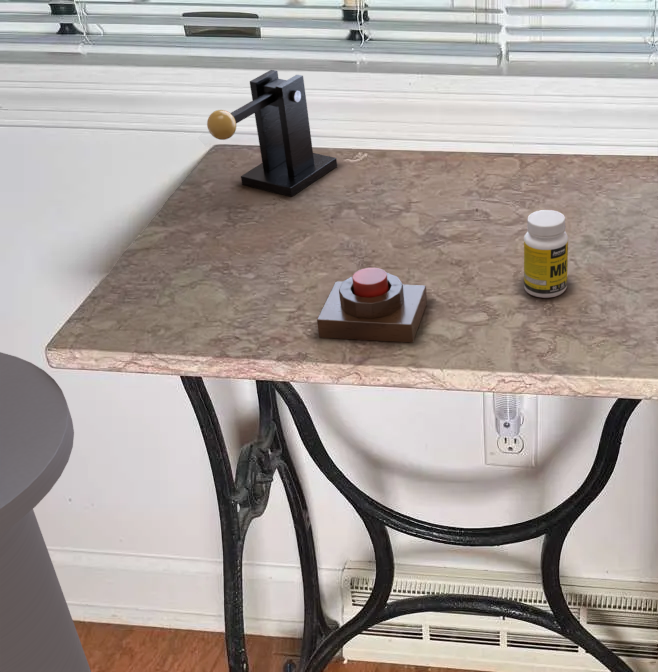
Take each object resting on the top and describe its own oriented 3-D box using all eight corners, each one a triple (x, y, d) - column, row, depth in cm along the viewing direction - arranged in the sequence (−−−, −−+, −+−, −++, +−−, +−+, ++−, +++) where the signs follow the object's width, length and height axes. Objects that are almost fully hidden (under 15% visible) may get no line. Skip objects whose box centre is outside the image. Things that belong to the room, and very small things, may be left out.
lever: (226, 146, 140) (221, 118, 137) (203, 141, 141) (198, 113, 139) (297, 104, 149) (294, 77, 147) (276, 100, 150) (272, 73, 148)
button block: (319, 337, 124) (314, 304, 121) (337, 298, 130) (333, 266, 127) (412, 342, 122) (410, 309, 120) (427, 303, 128) (425, 270, 126)
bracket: (291, 196, 150) (277, 97, 141) (242, 184, 153) (225, 87, 145) (337, 166, 156) (326, 69, 148) (288, 155, 159) (275, 60, 151)
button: (350, 298, 123) (348, 283, 121) (358, 281, 125) (356, 266, 124) (384, 300, 122) (383, 285, 121) (391, 282, 125) (390, 268, 124)
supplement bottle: (554, 303, 127) (554, 232, 122) (516, 292, 129) (515, 222, 124) (575, 283, 130) (576, 213, 125) (537, 273, 132) (537, 203, 127)
